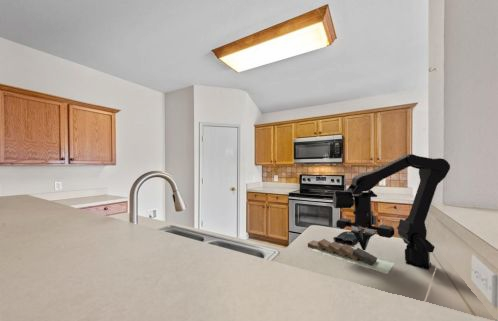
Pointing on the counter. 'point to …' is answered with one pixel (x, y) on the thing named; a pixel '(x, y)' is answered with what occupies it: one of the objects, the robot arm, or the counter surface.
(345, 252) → the brown wooden block
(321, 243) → the domino
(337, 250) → the domino
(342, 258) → the runner mat
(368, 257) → the tile
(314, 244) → the domino
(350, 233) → the electronic device
